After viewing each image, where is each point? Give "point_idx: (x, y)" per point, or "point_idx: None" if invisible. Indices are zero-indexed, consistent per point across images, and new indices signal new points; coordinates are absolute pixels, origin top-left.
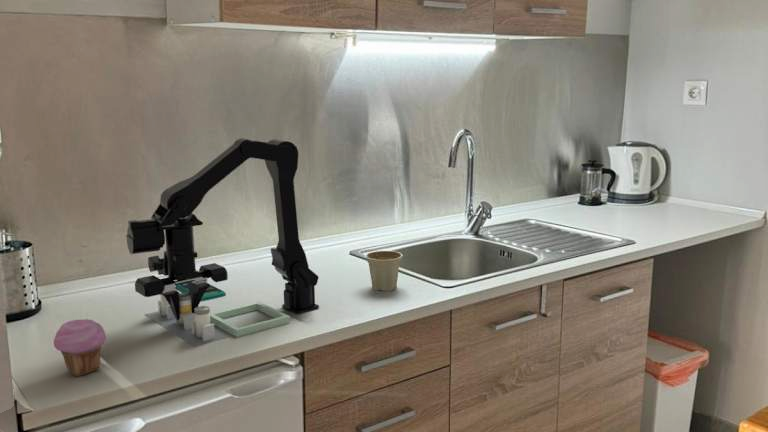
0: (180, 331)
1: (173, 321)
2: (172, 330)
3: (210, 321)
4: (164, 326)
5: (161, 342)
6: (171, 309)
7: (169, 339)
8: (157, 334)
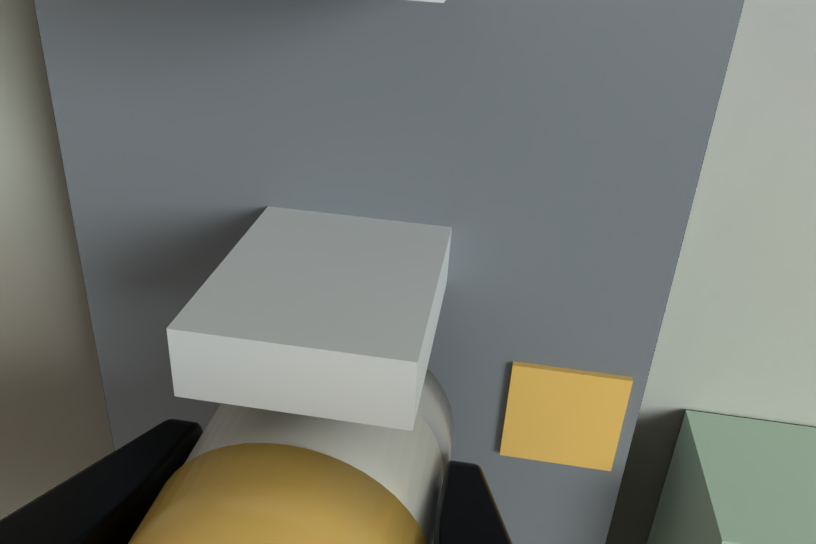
0: None
1: (277, 125)
2: (136, 416)
3: (679, 534)
4: (84, 223)
5: (13, 428)
6: (8, 531)
7: (106, 422)
8: (23, 196)
